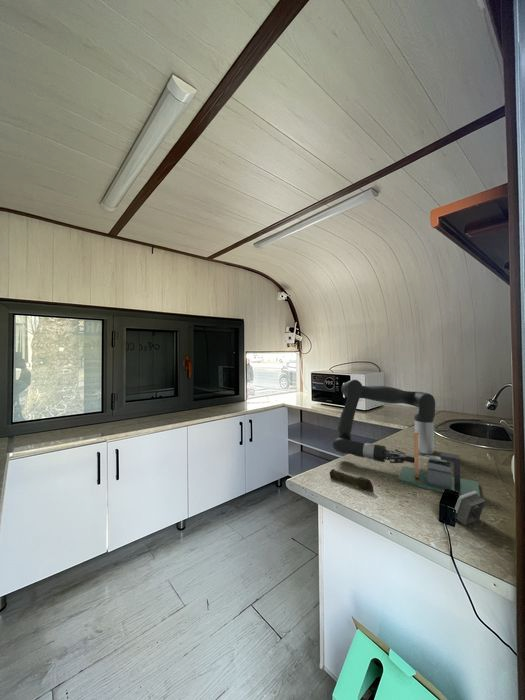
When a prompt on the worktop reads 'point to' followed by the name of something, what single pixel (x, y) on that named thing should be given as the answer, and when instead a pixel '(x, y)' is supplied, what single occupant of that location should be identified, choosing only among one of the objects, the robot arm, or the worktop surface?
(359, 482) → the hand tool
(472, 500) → the electrical switch
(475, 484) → the base
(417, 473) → the upright wooden plank
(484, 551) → the worktop surface
